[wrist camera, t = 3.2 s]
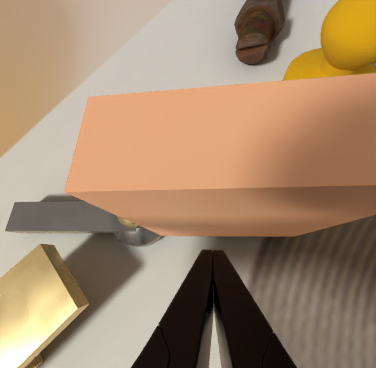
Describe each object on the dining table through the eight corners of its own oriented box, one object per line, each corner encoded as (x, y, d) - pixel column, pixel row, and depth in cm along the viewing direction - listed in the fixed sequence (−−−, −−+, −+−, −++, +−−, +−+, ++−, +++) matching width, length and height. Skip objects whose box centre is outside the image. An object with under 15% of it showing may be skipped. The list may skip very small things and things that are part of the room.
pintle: (148, 228, 14) (143, 225, 13) (122, 228, 14) (114, 225, 13) (151, 201, 15) (146, 197, 14) (126, 202, 15) (119, 197, 14)
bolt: (238, 83, 23) (261, 0, 27) (285, 68, 20) (303, -24, 24) (214, 37, 19) (246, -53, 23) (268, 9, 16) (293, -90, 20)
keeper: (75, 246, 16) (39, 243, 13) (108, 296, 15) (77, 308, 11) (-19, 331, 15) (-87, 353, 11) (6, 398, 13) (-65, 446, 10)
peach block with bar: (289, 248, 14) (518, 218, 3) (14, 244, 16) (-326, 221, 6) (279, 190, 15) (418, 48, 5) (30, 195, 18) (-218, 109, 8)
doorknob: (268, 72, 21) (340, 48, 21) (308, 131, 18) (392, 102, 18) (296, -22, 14) (404, -58, 14) (371, 48, 11) (508, 2, 11)
